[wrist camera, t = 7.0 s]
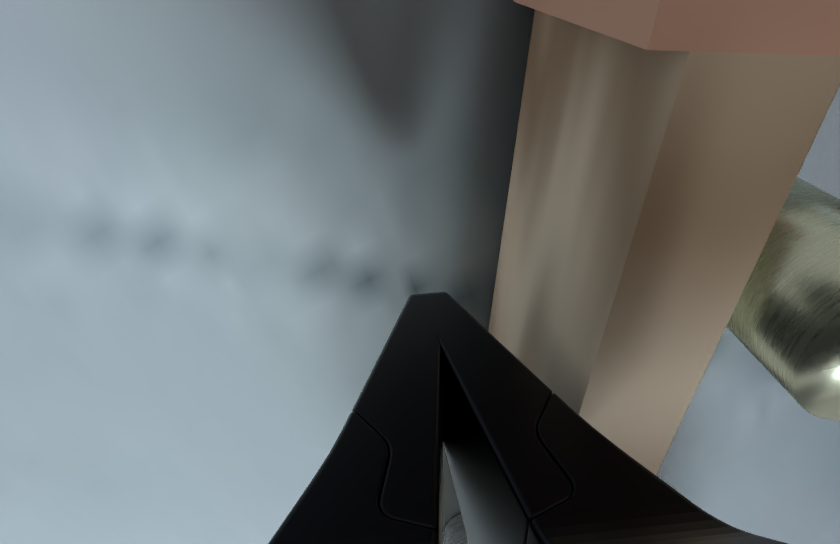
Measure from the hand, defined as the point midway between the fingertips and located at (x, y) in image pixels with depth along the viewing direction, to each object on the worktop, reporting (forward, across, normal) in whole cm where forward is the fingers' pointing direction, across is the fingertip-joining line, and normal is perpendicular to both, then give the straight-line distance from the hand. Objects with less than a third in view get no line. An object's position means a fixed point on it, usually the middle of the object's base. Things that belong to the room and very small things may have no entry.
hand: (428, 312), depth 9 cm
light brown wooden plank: (+2, -3, +2) cm, 4 cm away
